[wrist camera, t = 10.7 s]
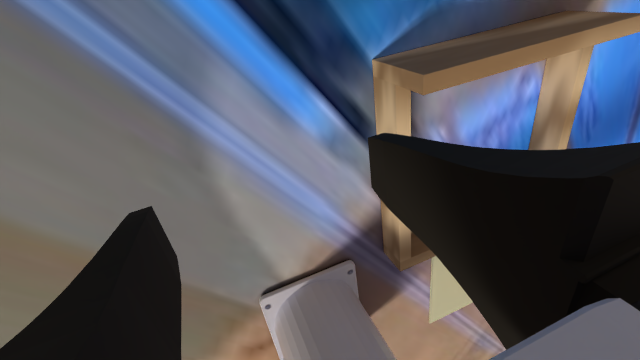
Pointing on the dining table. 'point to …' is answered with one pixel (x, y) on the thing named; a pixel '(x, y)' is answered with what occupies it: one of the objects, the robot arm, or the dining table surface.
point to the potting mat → (444, 292)
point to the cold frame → (484, 60)
